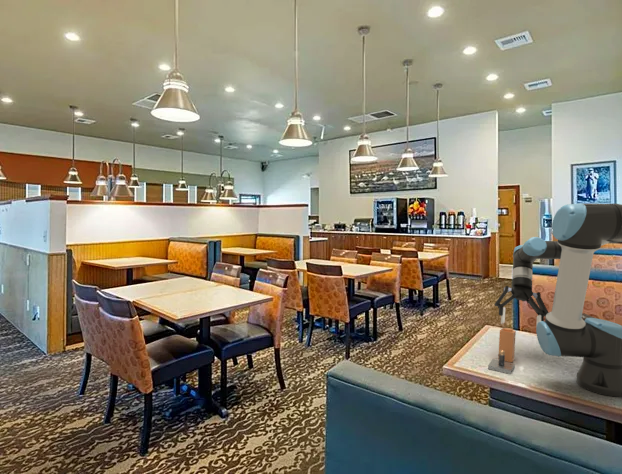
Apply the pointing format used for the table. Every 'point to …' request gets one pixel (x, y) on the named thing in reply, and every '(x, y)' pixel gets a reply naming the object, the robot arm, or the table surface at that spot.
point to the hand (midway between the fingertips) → (520, 327)
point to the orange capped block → (507, 343)
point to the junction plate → (502, 368)
